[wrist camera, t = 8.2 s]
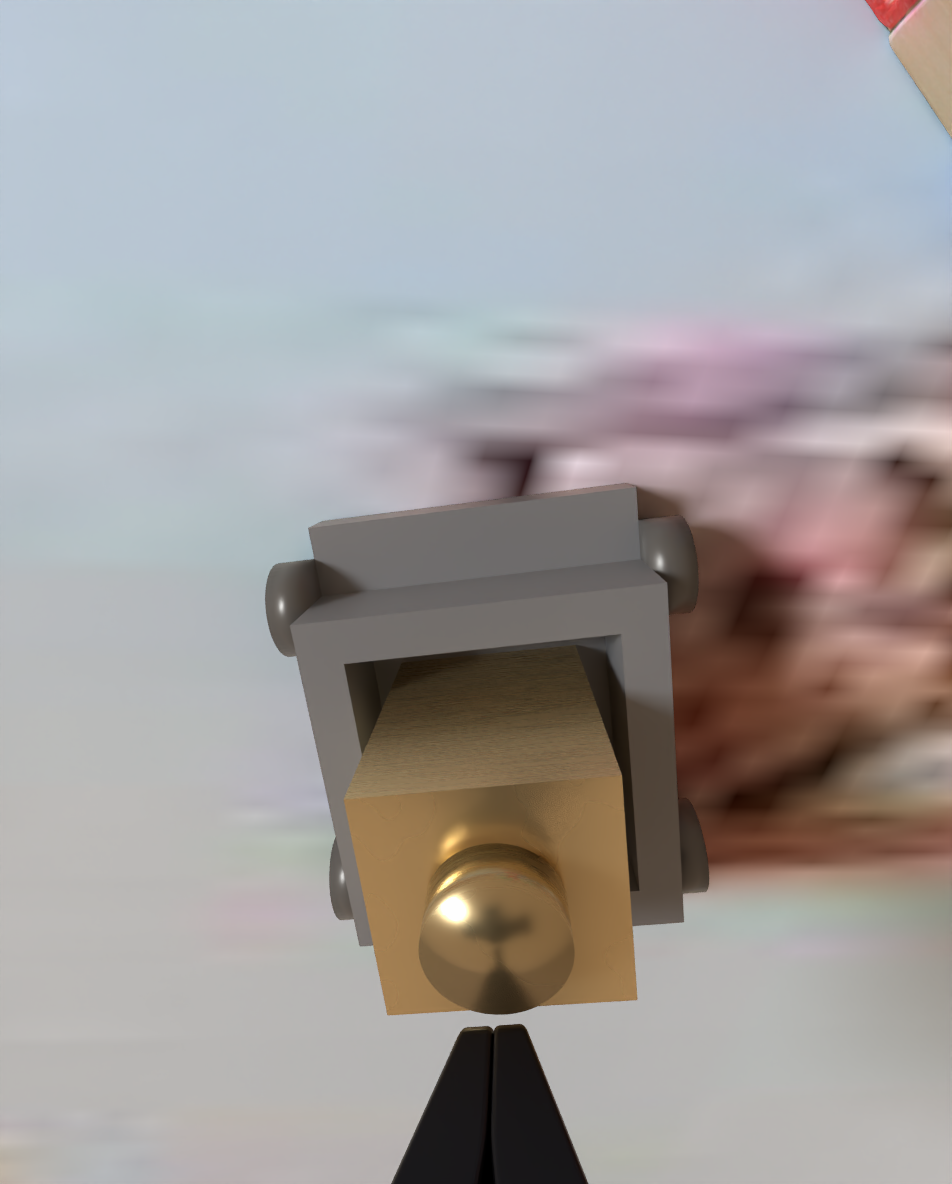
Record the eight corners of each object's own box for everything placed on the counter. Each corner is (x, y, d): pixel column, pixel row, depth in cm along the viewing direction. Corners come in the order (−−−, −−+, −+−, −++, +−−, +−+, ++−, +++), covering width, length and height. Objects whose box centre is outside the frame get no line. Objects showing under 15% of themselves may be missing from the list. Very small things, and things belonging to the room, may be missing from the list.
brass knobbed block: (588, 799, 16) (651, 1057, 10) (426, 812, 17) (376, 1072, 10) (575, 644, 15) (635, 815, 8) (401, 662, 16) (326, 839, 9)
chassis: (684, 873, 18) (727, 977, 15) (364, 899, 19) (333, 1003, 15) (665, 478, 15) (714, 491, 12) (285, 525, 16) (226, 551, 12)
